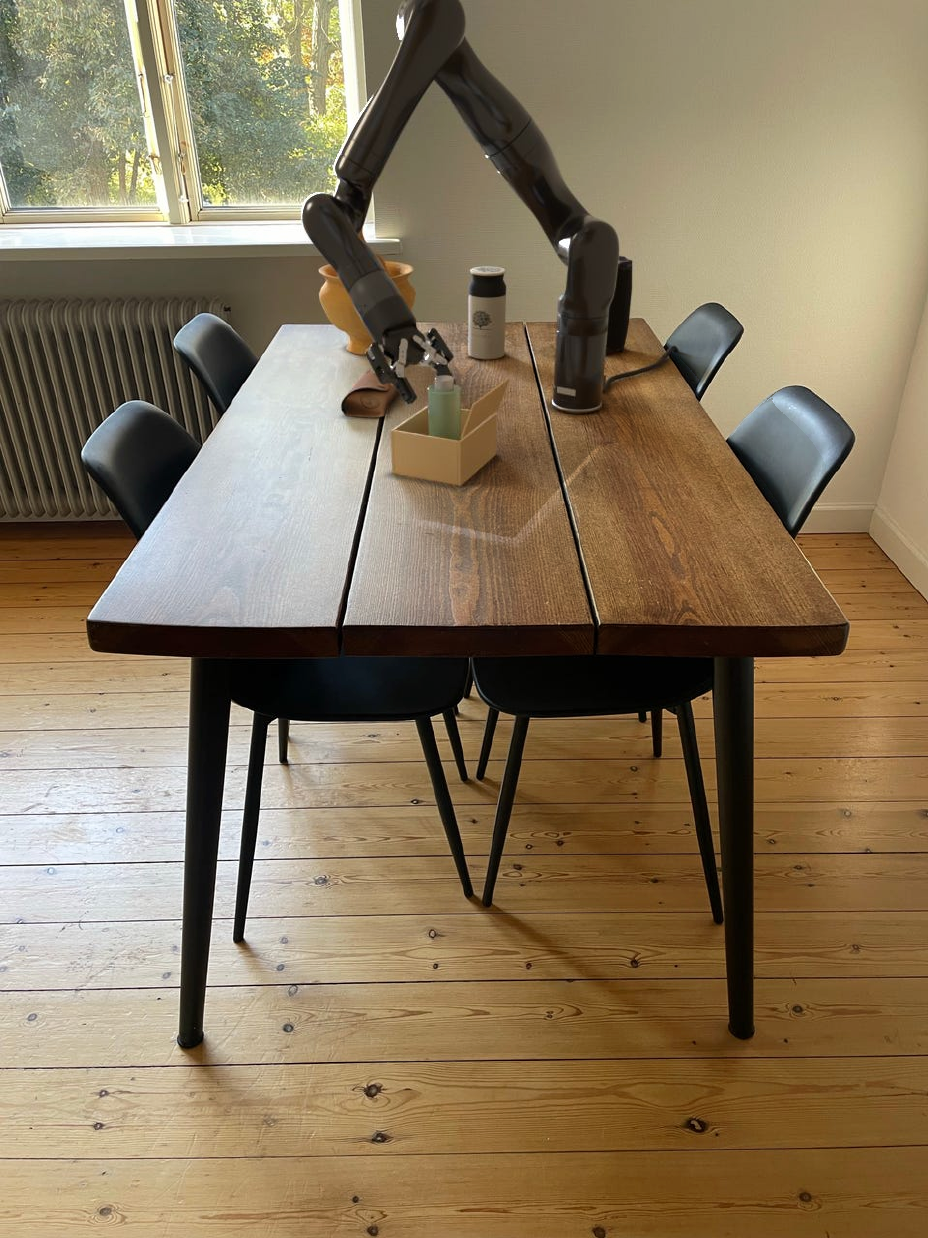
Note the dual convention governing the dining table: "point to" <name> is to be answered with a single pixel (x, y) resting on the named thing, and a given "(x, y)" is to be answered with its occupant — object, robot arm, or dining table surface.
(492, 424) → the carton
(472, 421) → the flap
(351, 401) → the leather pouch
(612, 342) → the portable speaker
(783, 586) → the dining table surface
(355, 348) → the mortar and pestle
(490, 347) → the travel mug
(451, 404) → the water bottle
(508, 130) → the robot arm
